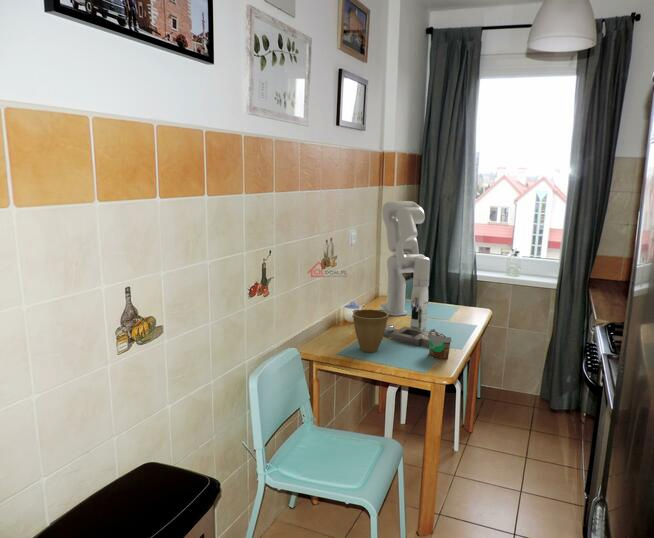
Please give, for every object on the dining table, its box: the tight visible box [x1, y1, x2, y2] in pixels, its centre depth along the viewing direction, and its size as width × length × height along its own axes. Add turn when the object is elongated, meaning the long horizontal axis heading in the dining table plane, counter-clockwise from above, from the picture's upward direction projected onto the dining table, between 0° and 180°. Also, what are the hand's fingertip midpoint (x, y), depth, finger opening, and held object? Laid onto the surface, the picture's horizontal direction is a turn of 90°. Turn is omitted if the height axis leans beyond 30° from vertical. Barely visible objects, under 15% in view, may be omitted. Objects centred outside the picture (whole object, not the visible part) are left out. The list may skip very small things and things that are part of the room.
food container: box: [427, 328, 452, 361], centre depth 215 cm, size 12×6×10 cm, turn 23°
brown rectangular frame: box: [391, 325, 430, 347], centre depth 235 cm, size 21×14×4 cm, turn 55°
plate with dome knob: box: [383, 324, 421, 347], centre depth 239 cm, size 21×14×4 cm, turn 55°
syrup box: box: [409, 300, 429, 330], centre depth 251 cm, size 6×6×14 cm
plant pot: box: [352, 308, 389, 353], centre depth 221 cm, size 15×15×16 cm
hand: (419, 317), depth 251 cm, fingers open, 9 cm apart
